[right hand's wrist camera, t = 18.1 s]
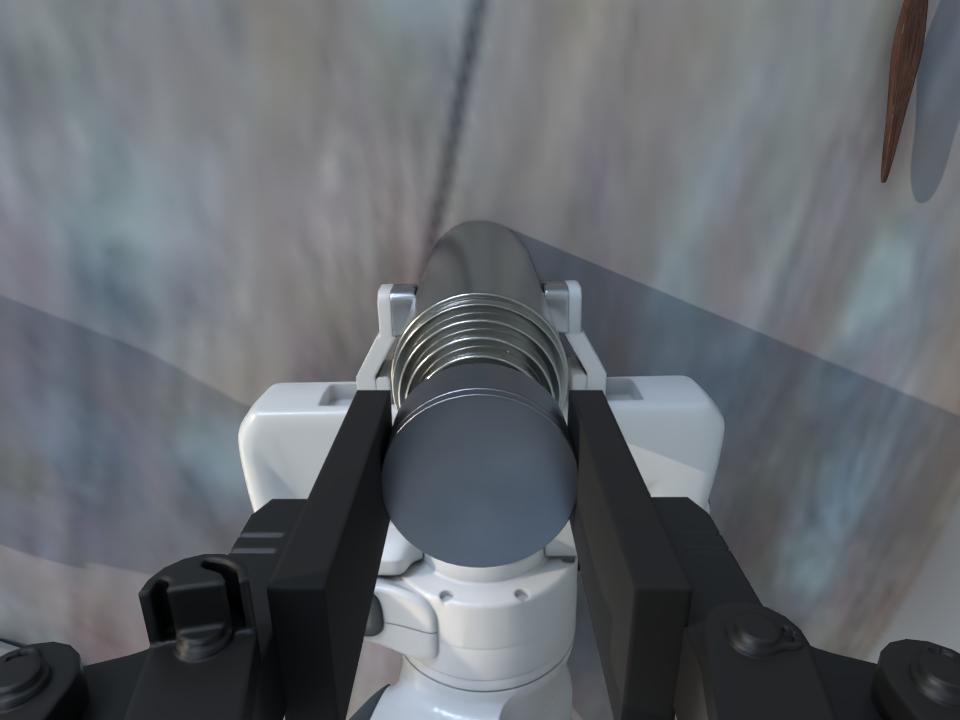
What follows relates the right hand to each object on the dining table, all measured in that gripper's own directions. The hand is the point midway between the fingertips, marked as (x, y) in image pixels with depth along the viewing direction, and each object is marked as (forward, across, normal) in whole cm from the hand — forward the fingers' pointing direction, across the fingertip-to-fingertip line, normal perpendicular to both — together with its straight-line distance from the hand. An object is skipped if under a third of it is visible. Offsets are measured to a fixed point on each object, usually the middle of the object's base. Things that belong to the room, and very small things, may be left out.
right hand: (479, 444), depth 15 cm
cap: (-1, 0, 0) cm, 1 cm away
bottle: (+18, 0, 0) cm, 18 cm away
